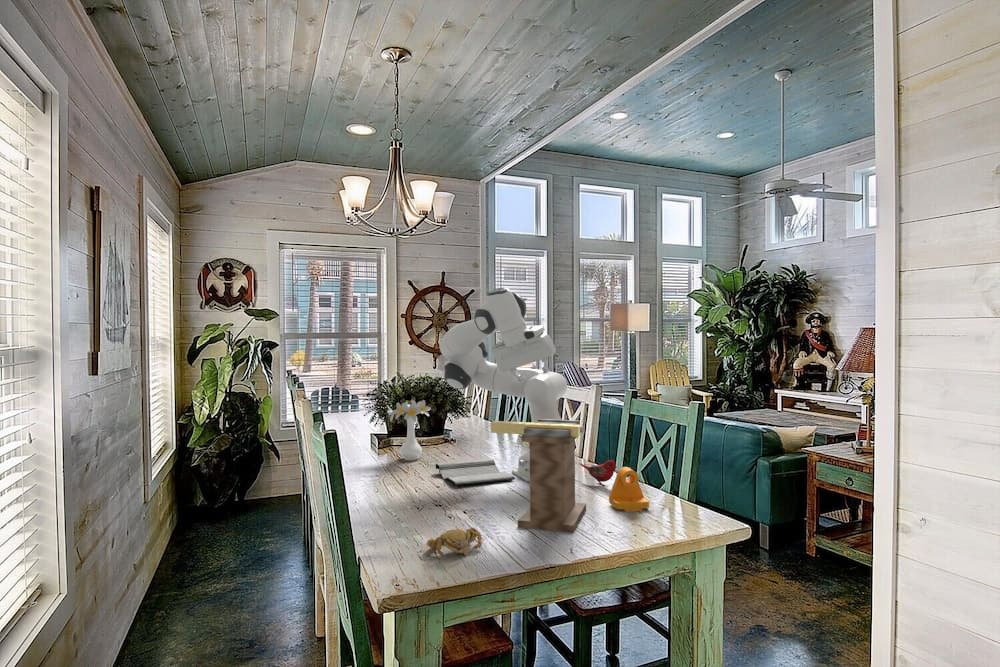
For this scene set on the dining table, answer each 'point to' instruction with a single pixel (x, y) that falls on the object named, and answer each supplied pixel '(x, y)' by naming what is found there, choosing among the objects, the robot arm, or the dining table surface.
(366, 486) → the dining table surface
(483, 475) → the mat
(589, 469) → the decorative bird figurine
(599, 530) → the dining table surface
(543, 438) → the stand
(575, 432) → the yellow bar
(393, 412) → the flower vase
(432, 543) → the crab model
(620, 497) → the bracket
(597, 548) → the dining table surface
